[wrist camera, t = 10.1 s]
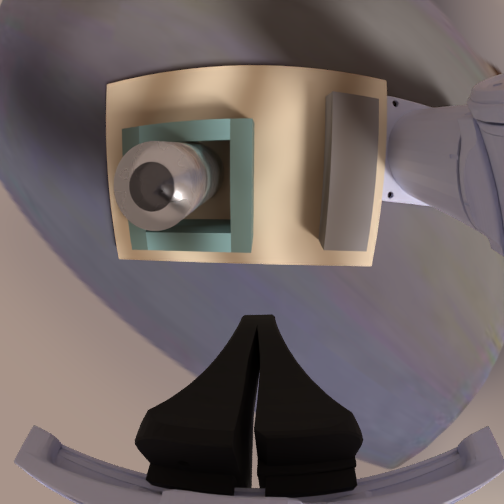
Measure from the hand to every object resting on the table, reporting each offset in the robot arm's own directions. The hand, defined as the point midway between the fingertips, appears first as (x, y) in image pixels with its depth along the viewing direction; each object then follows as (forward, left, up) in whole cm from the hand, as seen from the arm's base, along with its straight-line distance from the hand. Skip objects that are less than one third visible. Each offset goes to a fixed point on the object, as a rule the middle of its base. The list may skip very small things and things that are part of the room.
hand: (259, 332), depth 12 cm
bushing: (+5, -6, -8) cm, 11 cm away
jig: (+2, -6, -10) cm, 12 cm away
